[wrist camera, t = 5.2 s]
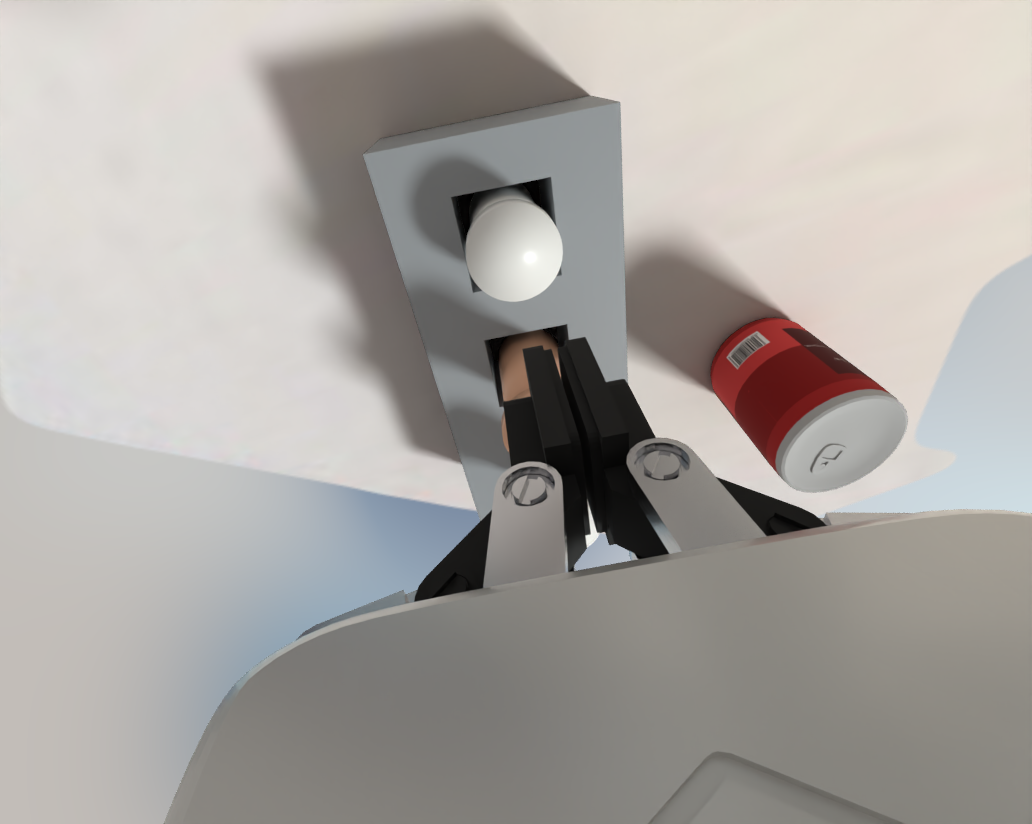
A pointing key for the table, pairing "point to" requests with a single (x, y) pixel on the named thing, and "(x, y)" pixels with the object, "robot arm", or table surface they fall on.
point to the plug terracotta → (520, 366)
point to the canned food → (806, 405)
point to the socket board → (442, 253)
